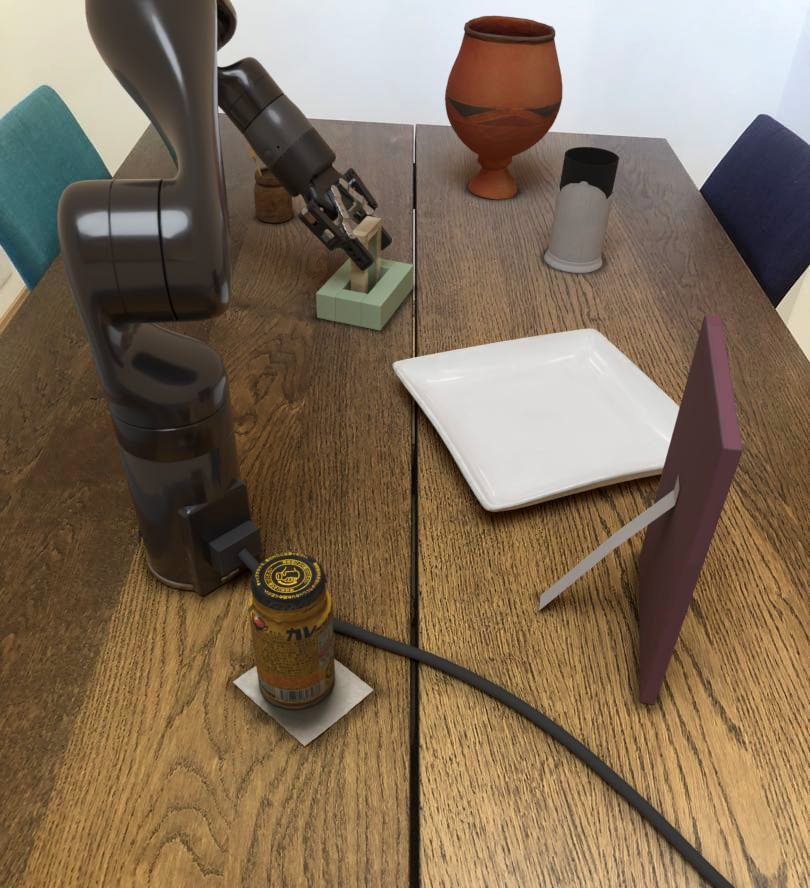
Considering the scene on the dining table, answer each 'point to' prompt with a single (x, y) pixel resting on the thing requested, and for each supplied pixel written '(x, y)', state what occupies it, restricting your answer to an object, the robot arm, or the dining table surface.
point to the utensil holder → (270, 196)
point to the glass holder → (582, 209)
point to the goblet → (503, 95)
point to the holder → (365, 296)
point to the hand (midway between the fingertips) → (378, 255)
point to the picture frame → (680, 508)
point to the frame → (371, 240)
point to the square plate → (543, 415)
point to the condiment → (296, 649)
